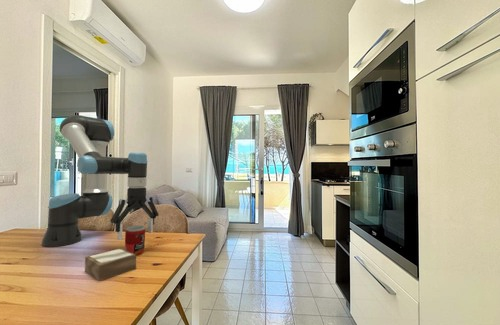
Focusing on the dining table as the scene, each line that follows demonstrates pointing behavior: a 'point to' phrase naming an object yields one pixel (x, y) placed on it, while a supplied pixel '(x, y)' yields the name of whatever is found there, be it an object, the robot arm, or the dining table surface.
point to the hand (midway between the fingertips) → (135, 235)
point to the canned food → (135, 239)
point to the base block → (110, 263)
